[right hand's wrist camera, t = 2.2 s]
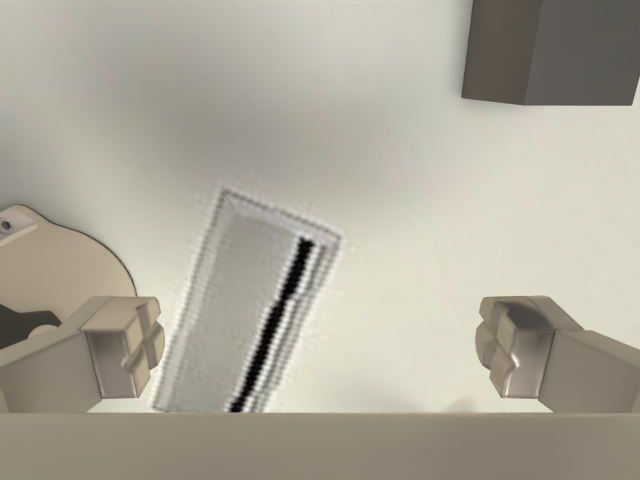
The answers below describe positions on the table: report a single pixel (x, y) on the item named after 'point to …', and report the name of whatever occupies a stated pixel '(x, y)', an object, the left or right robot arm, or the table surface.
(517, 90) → the box
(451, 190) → the table surface
